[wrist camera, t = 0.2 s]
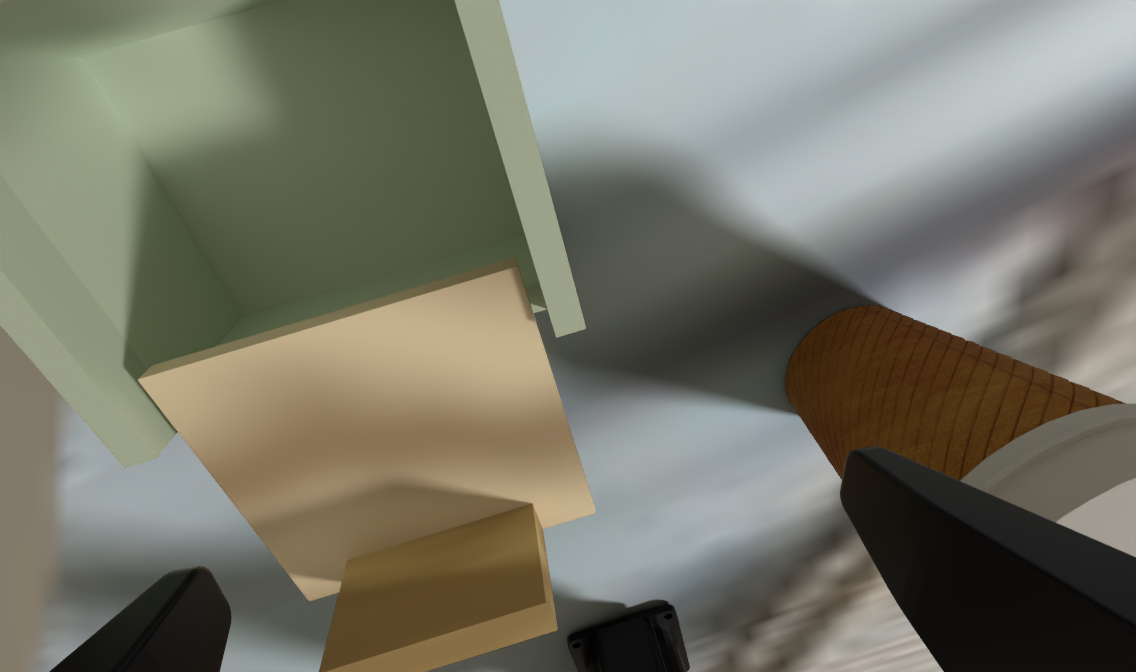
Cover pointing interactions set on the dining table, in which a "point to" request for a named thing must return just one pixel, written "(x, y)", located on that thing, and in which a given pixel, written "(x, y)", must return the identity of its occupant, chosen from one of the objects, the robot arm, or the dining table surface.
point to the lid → (396, 464)
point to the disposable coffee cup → (969, 418)
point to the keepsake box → (250, 178)
